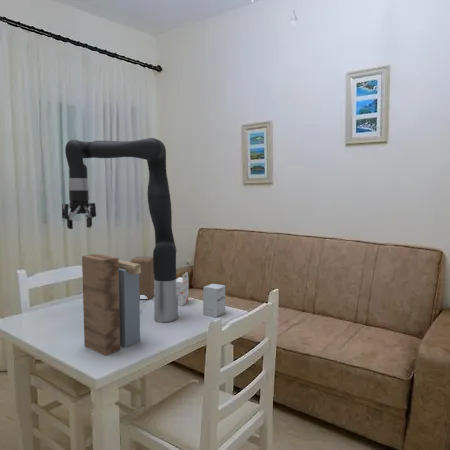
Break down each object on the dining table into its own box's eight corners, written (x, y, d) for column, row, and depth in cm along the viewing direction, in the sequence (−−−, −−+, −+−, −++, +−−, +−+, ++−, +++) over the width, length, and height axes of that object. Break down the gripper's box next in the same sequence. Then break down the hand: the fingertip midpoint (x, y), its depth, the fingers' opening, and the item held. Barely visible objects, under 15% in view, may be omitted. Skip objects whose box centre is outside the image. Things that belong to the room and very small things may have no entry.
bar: (99, 263, 147) (99, 256, 147) (140, 272, 133) (140, 264, 132) (92, 265, 145) (92, 257, 144) (133, 274, 130) (133, 265, 130)
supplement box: (216, 317, 164) (216, 289, 163) (202, 314, 168) (202, 286, 167) (225, 313, 170) (226, 285, 169) (211, 310, 174) (212, 282, 173)
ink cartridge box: (179, 300, 189) (178, 270, 187) (188, 300, 188) (188, 271, 186) (173, 305, 180) (173, 274, 179) (183, 306, 179) (183, 275, 178)
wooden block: (150, 300, 188) (150, 260, 186) (130, 299, 188) (129, 259, 186) (154, 294, 198) (154, 256, 196) (135, 294, 198) (134, 256, 196)
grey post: (119, 333, 146) (117, 263, 143) (140, 341, 138) (139, 267, 136) (104, 338, 140) (103, 265, 138) (125, 347, 133) (124, 270, 130)
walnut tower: (99, 340, 139) (97, 253, 135) (120, 349, 131) (118, 257, 128) (84, 346, 134) (81, 256, 131) (105, 355, 127) (103, 260, 123)
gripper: (67, 189, 151) (69, 230, 152) (99, 189, 162) (100, 227, 164) (57, 189, 155) (59, 228, 157) (88, 189, 167) (89, 226, 168)
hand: (79, 228), depth 160 cm, fingers open, 8 cm apart
